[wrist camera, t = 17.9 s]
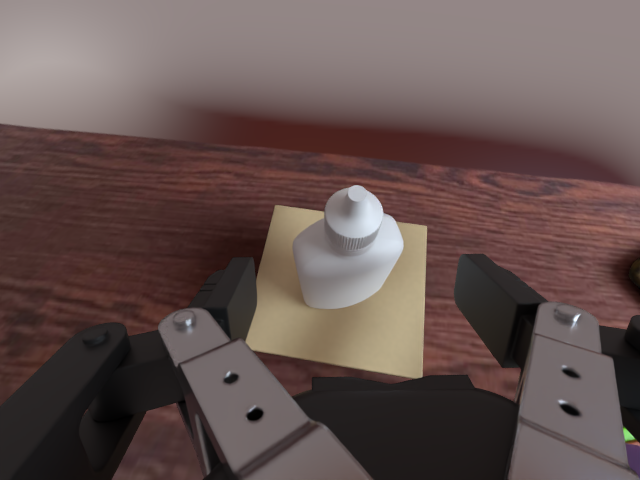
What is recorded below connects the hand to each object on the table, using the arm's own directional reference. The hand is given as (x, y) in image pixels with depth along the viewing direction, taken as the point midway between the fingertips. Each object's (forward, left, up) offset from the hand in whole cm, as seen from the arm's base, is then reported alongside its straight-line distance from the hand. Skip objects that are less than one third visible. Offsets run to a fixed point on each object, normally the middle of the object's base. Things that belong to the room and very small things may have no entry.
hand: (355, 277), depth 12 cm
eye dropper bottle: (0, +3, -10) cm, 10 cm away
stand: (0, +3, -16) cm, 16 cm away
